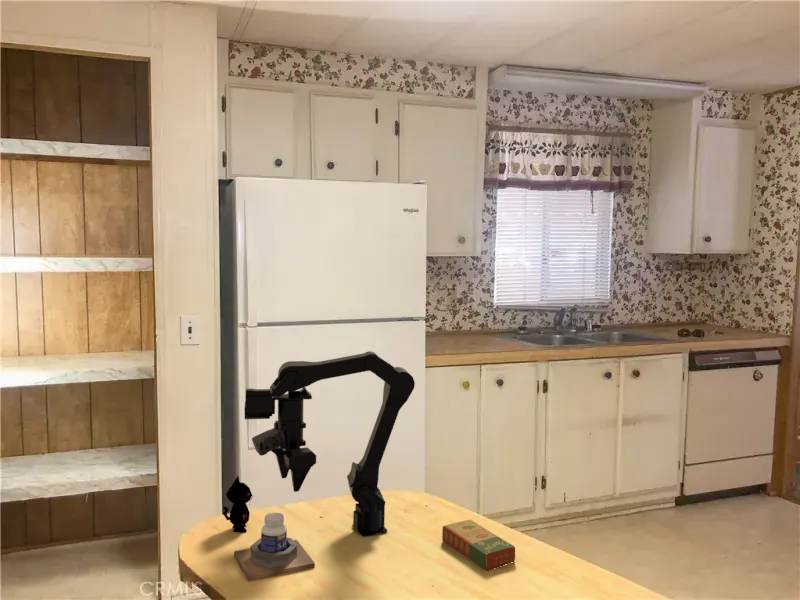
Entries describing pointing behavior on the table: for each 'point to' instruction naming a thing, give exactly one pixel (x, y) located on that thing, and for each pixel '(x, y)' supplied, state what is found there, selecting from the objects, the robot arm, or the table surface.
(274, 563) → the collar board
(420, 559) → the table surface
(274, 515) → the pill bottle
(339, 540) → the table surface
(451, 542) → the carton
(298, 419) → the robot arm
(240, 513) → the cat figurine
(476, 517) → the table surface
